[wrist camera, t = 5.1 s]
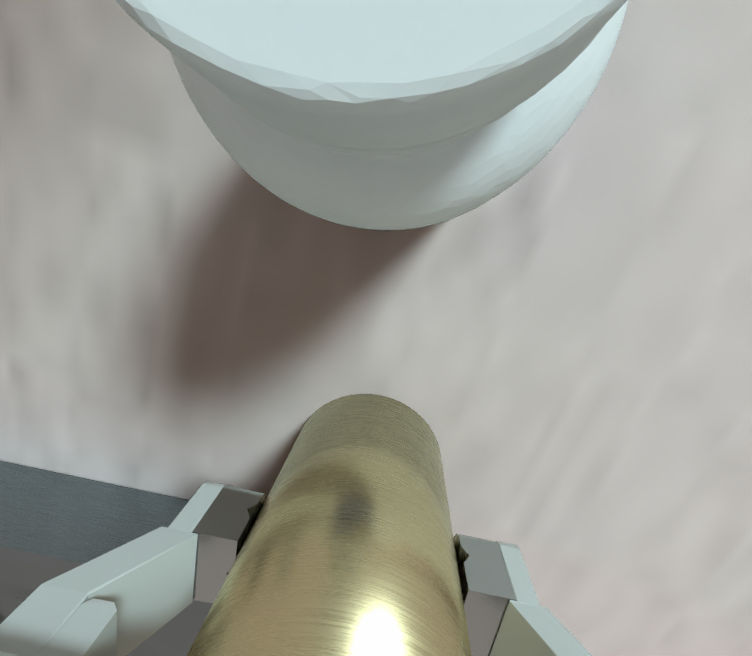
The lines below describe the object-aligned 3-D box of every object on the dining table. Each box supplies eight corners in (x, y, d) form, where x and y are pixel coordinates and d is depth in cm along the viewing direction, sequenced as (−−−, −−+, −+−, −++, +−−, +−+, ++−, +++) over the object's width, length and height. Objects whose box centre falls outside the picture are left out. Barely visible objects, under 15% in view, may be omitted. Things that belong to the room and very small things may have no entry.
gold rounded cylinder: (305, 380, 12) (134, 646, 4) (456, 410, 12) (547, 738, 4) (287, 506, 13) (128, 884, 6) (423, 535, 13) (448, 960, 6)
